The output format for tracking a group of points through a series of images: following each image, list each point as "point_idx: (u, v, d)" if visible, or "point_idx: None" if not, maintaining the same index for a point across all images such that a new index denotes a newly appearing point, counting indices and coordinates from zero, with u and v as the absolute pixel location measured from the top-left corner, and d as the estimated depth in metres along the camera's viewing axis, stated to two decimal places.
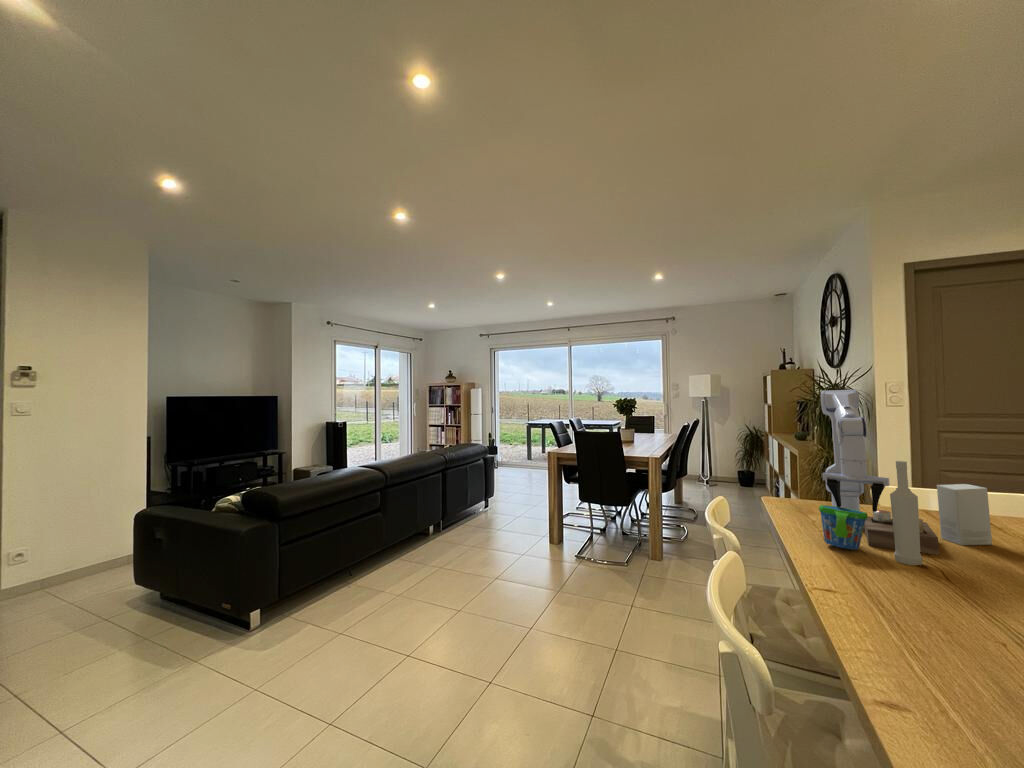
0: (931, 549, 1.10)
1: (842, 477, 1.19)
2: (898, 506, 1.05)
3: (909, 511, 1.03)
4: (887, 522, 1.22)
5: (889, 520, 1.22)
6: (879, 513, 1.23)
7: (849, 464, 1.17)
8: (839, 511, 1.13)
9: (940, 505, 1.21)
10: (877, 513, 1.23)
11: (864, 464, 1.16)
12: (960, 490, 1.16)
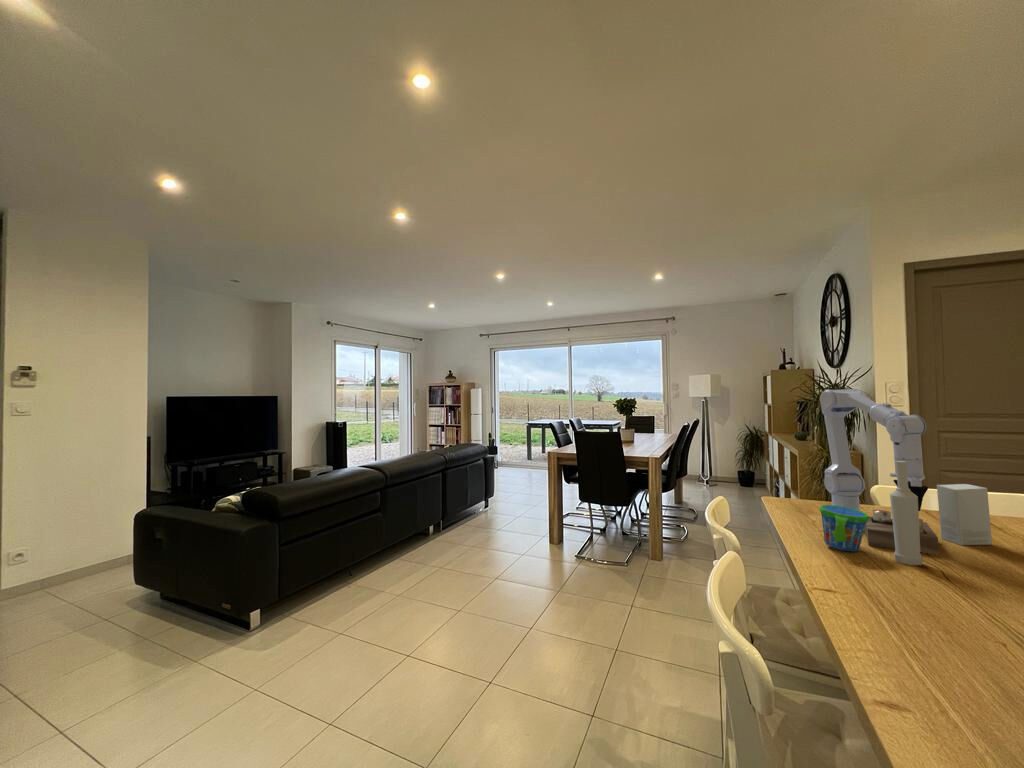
0: (931, 549, 1.10)
1: None
2: (898, 506, 1.05)
3: (909, 511, 1.03)
4: (887, 522, 1.22)
5: (889, 520, 1.22)
6: (879, 513, 1.23)
7: None
8: (839, 515, 1.12)
9: (940, 505, 1.21)
10: (877, 513, 1.23)
11: None
12: (960, 490, 1.16)
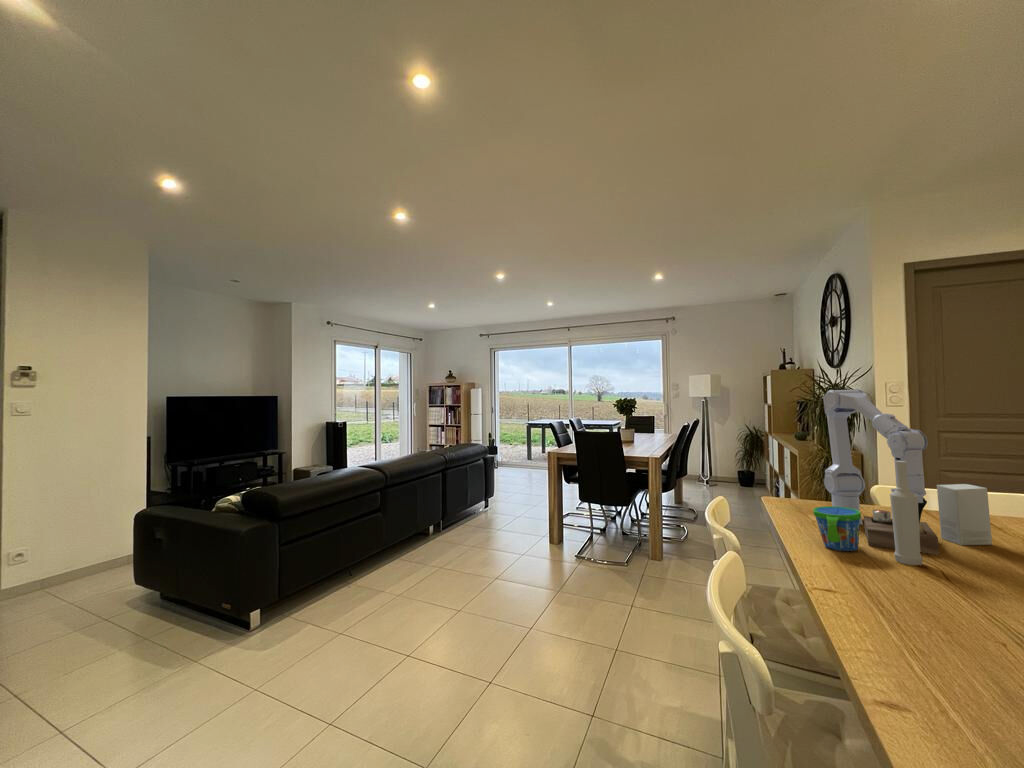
0: (931, 549, 1.10)
1: None
2: (898, 506, 1.05)
3: (909, 511, 1.03)
4: (887, 522, 1.22)
5: (889, 520, 1.22)
6: (879, 513, 1.23)
7: None
8: (830, 515, 1.13)
9: (940, 505, 1.21)
10: (877, 513, 1.23)
11: None
12: (960, 490, 1.16)
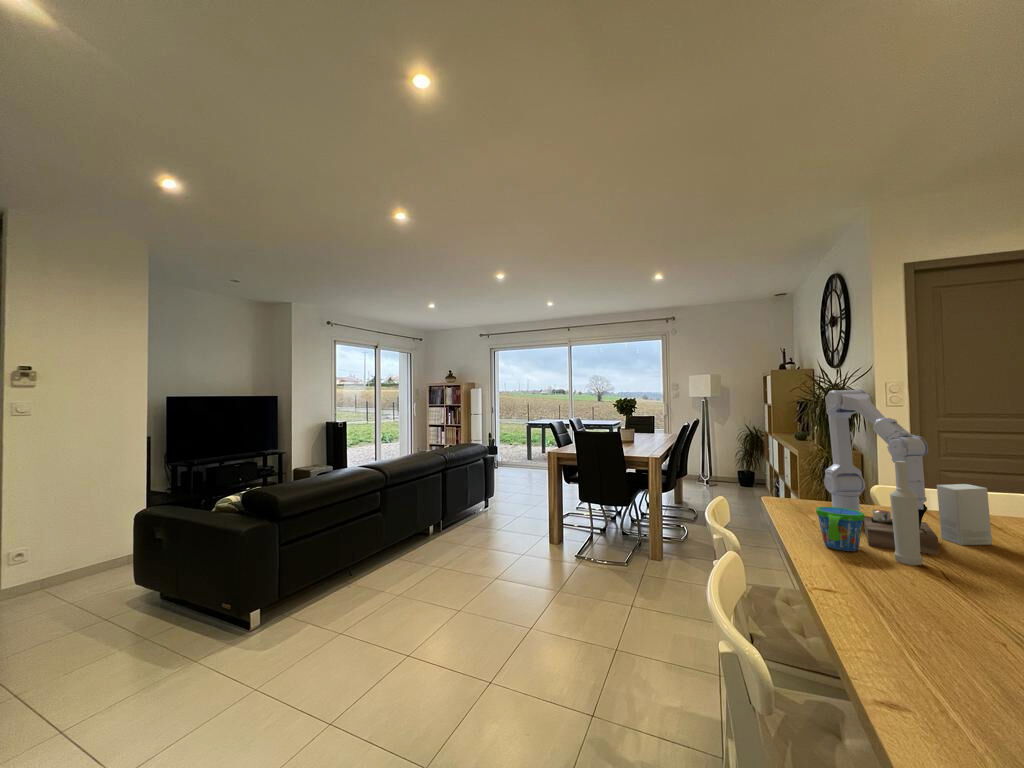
0: (931, 549, 1.10)
1: None
2: (898, 506, 1.05)
3: (909, 511, 1.03)
4: (887, 522, 1.22)
5: (889, 520, 1.22)
6: (879, 513, 1.23)
7: (896, 482, 1.18)
8: (832, 514, 1.13)
9: (940, 505, 1.21)
10: (877, 513, 1.23)
11: None
12: (960, 490, 1.16)
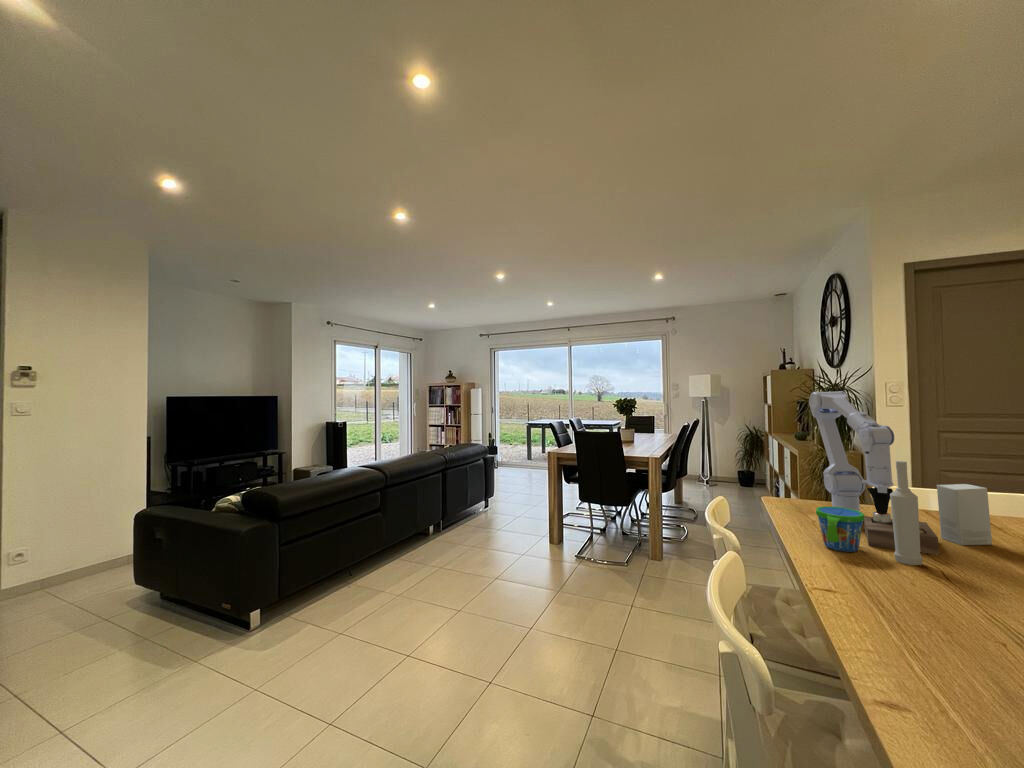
0: (931, 549, 1.10)
1: None
2: (898, 506, 1.05)
3: (909, 511, 1.03)
4: None
5: (889, 522, 1.22)
6: (879, 515, 1.23)
7: (866, 469, 1.27)
8: (831, 515, 1.13)
9: (940, 505, 1.21)
10: (877, 515, 1.23)
11: (875, 471, 1.23)
12: (960, 490, 1.16)
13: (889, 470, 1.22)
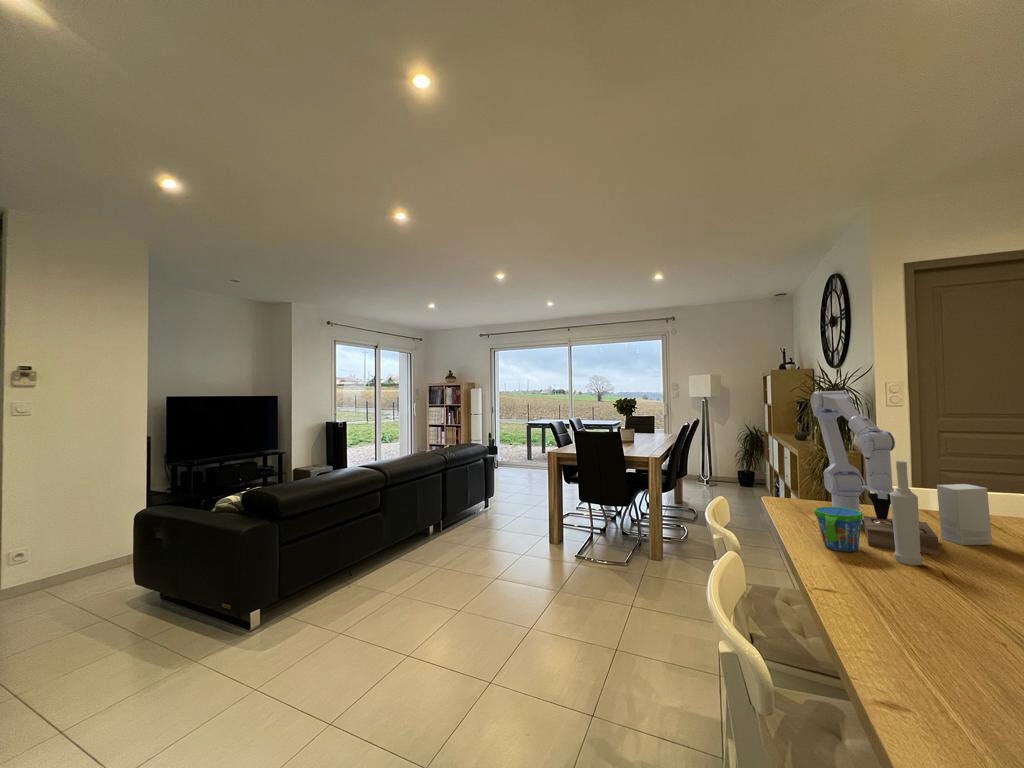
0: (931, 549, 1.10)
1: None
2: (898, 506, 1.05)
3: (909, 511, 1.03)
4: None
5: None
6: None
7: (866, 474, 1.27)
8: (829, 515, 1.14)
9: (940, 505, 1.21)
10: None
11: (875, 477, 1.23)
12: (960, 490, 1.16)
13: (889, 476, 1.22)
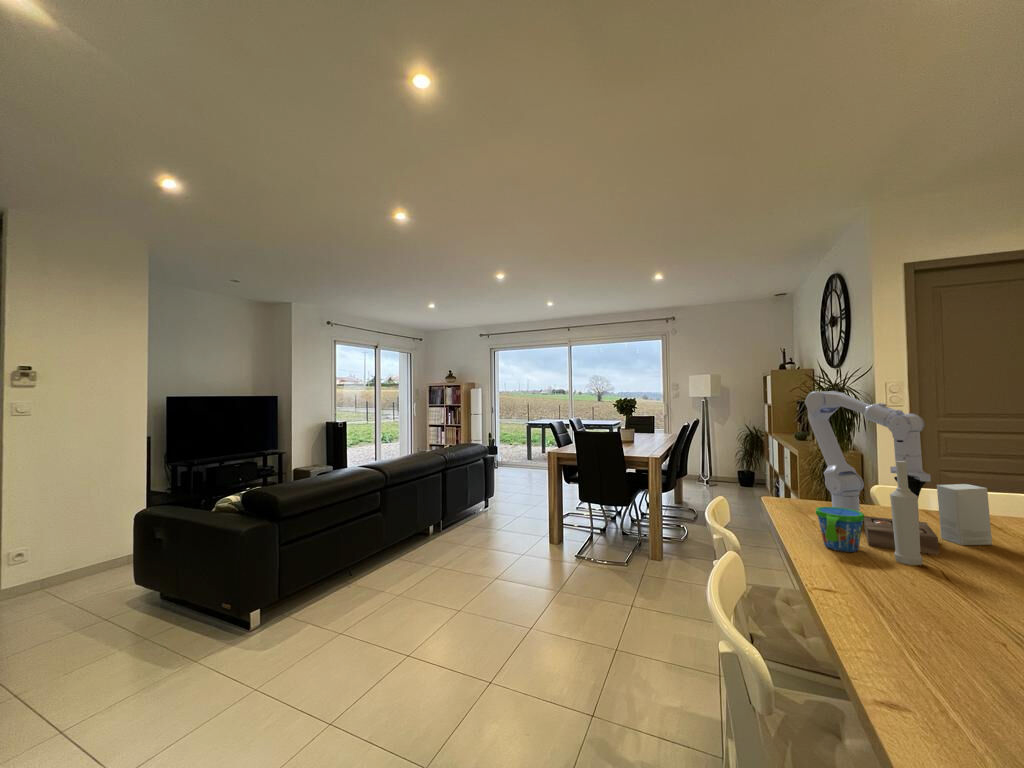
0: (931, 549, 1.10)
1: (894, 470, 1.26)
2: (898, 506, 1.05)
3: (909, 511, 1.03)
4: None
5: None
6: None
7: (895, 458, 1.24)
8: (830, 515, 1.13)
9: (940, 505, 1.21)
10: None
11: (910, 460, 1.21)
12: (960, 490, 1.16)
13: (921, 458, 1.21)
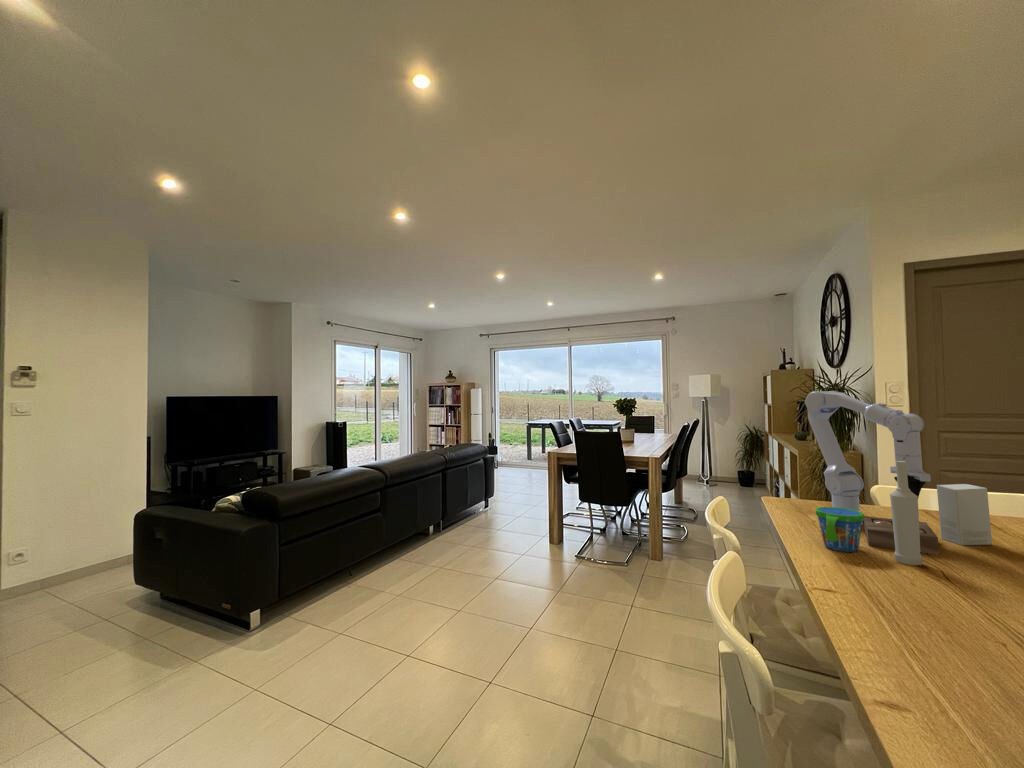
0: (931, 549, 1.10)
1: (894, 470, 1.26)
2: (898, 506, 1.05)
3: (909, 511, 1.03)
4: None
5: None
6: None
7: (895, 458, 1.24)
8: (830, 515, 1.14)
9: (940, 505, 1.21)
10: None
11: (910, 460, 1.21)
12: (960, 490, 1.16)
13: (921, 458, 1.21)
